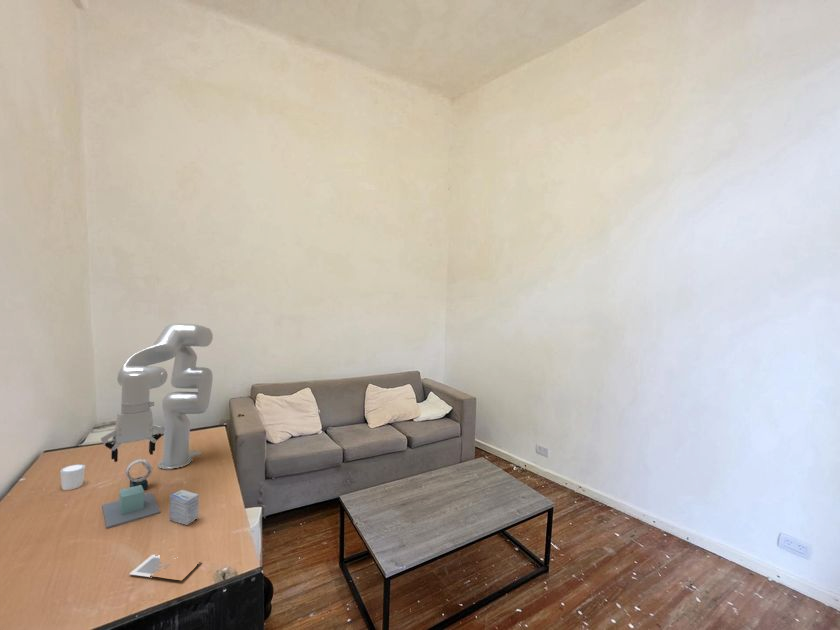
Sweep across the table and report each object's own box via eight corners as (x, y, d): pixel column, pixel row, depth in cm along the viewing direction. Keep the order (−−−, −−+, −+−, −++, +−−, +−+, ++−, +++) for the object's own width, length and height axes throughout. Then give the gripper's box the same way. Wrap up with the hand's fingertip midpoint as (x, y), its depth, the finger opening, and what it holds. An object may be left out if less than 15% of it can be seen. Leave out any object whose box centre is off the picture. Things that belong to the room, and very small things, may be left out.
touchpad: (181, 585, 96) (182, 577, 96) (128, 578, 98) (128, 570, 98) (202, 564, 104) (202, 557, 104) (152, 558, 105) (152, 550, 105)
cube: (140, 501, 131) (141, 484, 131) (143, 508, 127) (144, 491, 126) (118, 507, 127) (119, 490, 126) (121, 515, 122) (121, 497, 122)
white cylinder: (72, 491, 135) (73, 472, 135) (54, 490, 135) (54, 471, 135) (89, 482, 142) (90, 464, 142) (72, 481, 142) (72, 463, 142)
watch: (153, 487, 141) (154, 459, 141) (127, 495, 135) (128, 465, 135) (149, 482, 145) (150, 454, 145) (123, 489, 139) (124, 460, 138)
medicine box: (198, 519, 124) (199, 494, 123) (186, 526, 120) (187, 500, 119) (181, 513, 126) (182, 488, 126) (168, 520, 122) (169, 495, 122)
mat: (151, 493, 137) (151, 492, 137) (160, 513, 126) (160, 511, 126) (102, 506, 127) (102, 504, 127) (106, 528, 116) (106, 526, 116)
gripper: (163, 401, 134) (161, 447, 135) (100, 408, 122) (99, 459, 123) (167, 406, 129) (166, 454, 130) (102, 415, 117) (101, 467, 118)
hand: (133, 456), depth 126 cm, fingers open, 9 cm apart
